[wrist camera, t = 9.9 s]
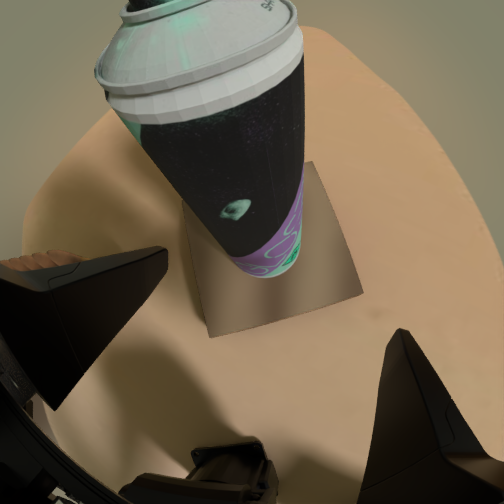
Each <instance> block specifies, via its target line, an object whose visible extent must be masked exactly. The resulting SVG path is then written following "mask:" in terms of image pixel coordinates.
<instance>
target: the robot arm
mask: <svg viewBox="0 0 504 504" xmlns="http://www.w3.org/2000/svg"><path fill="white" fill-rule="evenodd" d="M167 270H168V250H167V249H166V248H163V247H161V246H155V247H149V248H144V249H139V250H134V251H129V252H124V253H119V254H114V255H109V256H105V257H100V258H95V259H90V260H85V261H82V262H76V263H71V264H66V265H61V266H55V267H49V268H43V269H36V270H30V271H16V270H13V269H11V268H9V267H7V266H5V265H3V264H1V263H0V504H75V503H73V502H72V501H70V500H67V499H65V498H62V497H60V496H55V495H54V494H52V492H53V490H54V489H55V488H56V487H58V488H59V489H61V490H62V491H64V492H65V493H66V494H65V495H66V496H67V497H69V498H70V499H72V500H74V501H76V502H77V503H78V504H276V497H277V495H278V483H279V481H278V478H277V474H276V471H275V468H274V465H273V462H272V461H271V460H268V459H267V456H266V453H265V450H264V447H263V444H262V443H261V442H259V441H254V442H247V443H241V444H234V445H226V446H216V447H206V448H195V449H193V450H192V451H191V456H192V458H193V461H194V464H195V468H194V469H193V470H192V471H191V472H190V473H189V475H188V476H187V477H186V478H185V479H182V478H176V477H170V476H164V475H159V474H154V473H143V474H141V475H139V476H137V477H136V478H135V479H134V480H133V482H132V483H129V484H126V485H125V486H123V487H122V488H121V490H120V491H119V493H118V494H117V493H116V492H114V491H113V490H111V489H110V488H109V487H107V486H106V485H104V484H103V483H102V482H100V481H99V480H98V479H96V478H95V477H94V476H92V475H91V474H90V473H89V472H87V471H86V470H85V469H84V468H82V467H81V466H80V465H79V464H78V463H76V462H75V461H74V460H73V459H72V458H71V457H70V456H68V455H67V454H66V453H65V452H64V451H63V450H62V449H61V448H60V447H59V446H58V445H57V444H56V443H55V442H53V441H52V440H51V439H50V438H49V437H48V436H47V435H46V434H45V432H43V430H41V428H40V427H39V426H38V425H37V424H36V423H35V422H34V421H33V402H32V400H31V398H32V397H33V396H34V395H35V394H36V393H37V394H38V395H39V396H40V397H41V398H42V399H43V401H44V402H45V403H46V404H47V405H48V406H49V407H50V408H51V409H52V410H53V411H56V410H57V409H58V407H59V406H60V405H61V403H62V402H63V401H64V399H65V398H66V397H67V396H68V394H69V393H70V392H71V390H72V389H73V388H74V387H75V385H76V384H77V383H78V381H79V380H80V379H81V378H82V376H83V375H84V373H85V372H86V371H87V370H88V369H89V367H90V366H91V365H92V364H93V363H94V361H95V360H96V359H97V358H98V356H99V355H100V354H101V353H102V352H103V350H104V349H105V348H106V347H107V346H108V344H109V343H110V342H111V341H112V340H113V338H114V337H115V336H116V335H117V334H118V332H119V331H120V330H121V329H122V328H123V327H124V325H125V324H126V323H127V322H128V321H129V320H130V318H131V317H132V316H133V315H134V314H135V313H136V312H137V310H138V309H139V308H140V307H141V306H142V305H143V304H144V302H145V301H146V300H147V299H148V297H149V296H150V295H151V293H152V292H153V290H154V289H155V288H156V286H157V285H158V283H159V282H160V281H161V279H162V278H163V277H164V275H165V274H166V272H167ZM255 445H258V446H259V447H260V448H255V447H254V446H255ZM195 452H197V453H198V454H199V455H197V454H195ZM360 491H361V492H360V493H359V497H358V500H357V504H504V462H502V461H499V460H496V459H494V458H492V457H491V456H489V455H488V454H487V453H486V452H485V450H484V449H483V447H482V446H481V444H480V443H479V441H478V439H477V438H476V436H475V435H474V433H473V432H472V430H471V429H470V427H469V426H468V424H467V422H466V421H465V419H464V418H463V416H462V415H461V413H460V411H459V409H458V408H457V406H456V404H455V403H454V401H453V399H451V396H450V394H449V392H448V391H447V389H446V387H445V386H444V384H443V383H442V381H441V379H440V378H439V376H438V374H437V373H436V371H435V370H434V368H433V367H432V365H431V363H430V362H429V360H428V359H427V357H426V356H425V354H424V353H423V351H422V350H421V348H420V347H419V345H418V344H417V342H416V341H415V339H414V338H413V336H412V335H411V334H410V332H409V331H408V330H405V329H401V328H399V329H397V330H396V332H395V333H394V335H393V336H392V338H391V339H390V341H389V343H388V344H387V347H386V350H385V356H384V361H383V367H382V372H381V377H380V382H379V388H378V397H377V406H376V413H375V421H374V427H373V433H372V439H371V445H370V450H369V455H368V460H367V465H366V469H365V474H364V478H363V482H362V486H361V490H360Z"/></svg>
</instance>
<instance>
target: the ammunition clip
mask: <svg viewBox="0 0 504 504" xmlns="http://www.w3.org/2000/svg"><path fill="white" fill-rule="evenodd" d="M85 260H90V258H83V257H81V256H78V255H74V254H72V253H69V252H66V251H61V250H49V251H47V254H46V253H34V254H32V256H21V257H19V258H11V259H9V260H2V261H0V263H1V264H3V265H5V266H7V267H9V268H11V269H13V270H16V271H30V270H36V269H43V268H49V267H55V266H61V265H66V264H71V263H76V262H82V261H85Z"/></svg>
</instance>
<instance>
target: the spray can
mask: <svg viewBox="0 0 504 504" xmlns="http://www.w3.org/2000/svg"><path fill="white" fill-rule="evenodd" d="M119 14H120V17H121V18H122V20H123V24H122V25H121V27H120V28H119V29H118V31H117V32H116V34H115V35H114V37H113V39H112V40H111V42H110V43H109V45H108V46H107V47H106V48H105V49H104V50H103V52H102V53H101V55H100V57H99V58H98V60H97V62H96V65H95V69H94V73H95V78H96V79H97V81H98V82H99V84H100V85H101V86H102V87H103V88H104V91H105V97H106V100H107V102H108V103H109V104H110V106H111V107H112V108H113V110H114V111H115V112H116V114H117V115H118V116H119V117H120V119H121V120H122V121H123V123H124V124H125V125H126V127H127V128H128V129H129V131H130V132H131V133H132V134H133V136H134V137H135V138H136V140H137V141H138V142H139V144H140V145H141V146H142V147H143V149H144V150H145V151H146V153H147V154H148V155H149V156H150V158H151V159H152V160H153V162H154V163H155V164H156V165H157V167H158V168H159V169H160V171H161V172H162V173H163V174H164V176H165V177H166V178H167V179H168V181H169V182H170V183H171V184H172V186H173V187H174V188H175V190H176V191H177V192H178V193H179V195H180V196H181V197H182V198H183V200H184V201H185V202H186V203H187V205H188V206H189V207H190V208H191V210H192V211H193V212H194V213H195V215H196V216H197V217H198V218H199V219H200V221H201V222H202V223H203V224H204V226H205V227H206V228H207V229H208V231H209V232H210V233H211V234H212V236H213V237H214V238H215V239H216V240H217V242H218V243H219V244H220V245H221V247H222V248H223V249H224V250H225V251H226V253H227V254H228V255H229V256H230V258H231V259H232V260H233V261H234V262H235V264H236V265H237V266H238V267H239V268H240V269H241V270H242V271H244V272H245V273H247V274H249V275H251V276H254V277H257V278H271V277H275V276H278V275H280V274H282V273H284V272H286V271H287V270H288V269H289V268H290V267H291V266H292V265H293V264H294V262H295V261H296V259H297V257H298V254H299V250H300V245H301V228H302V208H303V183H304V140H305V92H304V52H303V34H302V31H301V30H300V28H299V26H298V25H297V24H298V23H297V9H296V7H295V6H294V4H293V3H292V2H291V1H289V0H129V2H128V3H127V4H126V5H125V6H124V7H123V8H122V9H121V11H120V13H119Z"/></svg>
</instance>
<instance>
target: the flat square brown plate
mask: <svg viewBox="0 0 504 504" xmlns="http://www.w3.org/2000/svg"><path fill="white" fill-rule="evenodd" d="M182 205H183V211H184V217H185V223H186V229H187V234H188V240H189V245H190V251H191V256H192V261H193V266H194V271H195V276H196V281H197V286H198V290H199V295H200V299H201V304H202V308H203V313H204V317H205V321H206V326H207V330H208V334H209V338H214V337H219V336H223V335H227V334H231V333H235V332H239V331H243V330H247V329H251V328H254V327H258V326H262V325H265V324H269V323H273V322H276V321H280V320H283V319H287V318H290V317H294V316H297V315H300V314H304V313H307V312H310V311H313V310H317V309H320V308H323V307H326V306H329V305H332V304H335V303H338V302H341V301H344V300H347V299H350V298H353V297H356V296H359V295H361V294H363V293H364V292H363V289H362V286H361V283H360V280H359V277H358V274H357V271H356V268H355V265H354V262H353V260H352V257H351V254H350V251H349V249H348V246H347V243H346V240H345V238H344V235H343V233H342V230H341V227H340V225H339V222H338V220H337V217H336V215H335V212H334V210H333V207H332V205H331V203H330V200H329V198H328V195H327V193H326V191H325V188H324V186H323V184H322V182H321V179H320V177H319V175H318V173H317V170H316V168H315V166H314V164H313V162H312V161H310V162H306V163H304V183H303V208H302V228H301V245H300V250H299V254H298V257H297V259H296V261H295V262H294V264H293V265H292V266H291V267H290V268H289V269H288V270H287V271H286V272H284V273H282V274H280V275H278V276H275V277H271V278H257V277H254V276H251V275H249V274H247V273H245V272H244V271H242V270H241V269H240V268H239V267H238V266H237V265H236V264H235V262H234V261H233V260H232V259H231V258H230V256H229V255H228V254H227V253H226V251H225V250H224V249H223V248H222V247H221V245H220V244H219V243H218V242H217V240H216V239H215V238H214V237H213V236H212V234H211V233H210V232H209V231H208V229H207V228H206V227H205V226H204V224H203V223H202V222H201V221H200V219H199V218H198V217H197V216H196V215H195V213H194V212H193V211H192V210H191V208H190V207H189V206H188V205H187V203H186V202H185V201H184V200H182Z"/></svg>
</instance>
